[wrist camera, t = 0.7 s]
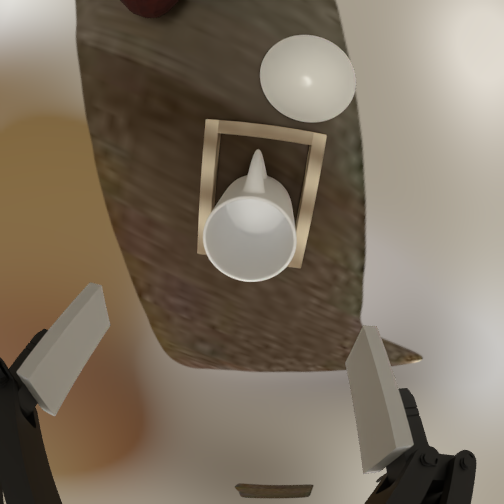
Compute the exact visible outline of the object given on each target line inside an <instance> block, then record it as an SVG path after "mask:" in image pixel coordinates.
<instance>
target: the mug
mask: <svg viewBox="0 0 504 504" xmlns="http://www.w3.org/2000/svg"><path fill="white" fill-rule="evenodd" d="M203 244H204V248H205V251H206V254H207V256H208V258H209V259H210V261H211V262H212V263H213V265H214V266H215V267H216V268H217V269H218V270H220V271H221V272H222V273H224V274H225V275H227V276H229V277H231V278H234V279H237V280H240V281H246V282H256V281H263V280H266V279H269V278H272V277H274V276H276V275H277V274H279V273H280V272H281V271H283V270H284V269H285V268H286V267H287V266H288V264H289V263H290V262H291V260H292V258H293V256H294V253H295V250H296V245H297V236H296V228H295V222H294V215H293V209H292V203H291V199H290V196H289V194H288V192H287V190H286V189H285V188H284V186H283V185H282V184H281V183H280V182H278V181H277V180H275V179H274V178H272V177H269V176H267V173H266V168H265V164H264V159H263V156H262V153H261V151H260V150H259V149H257V150H256V151H255V153H254V155H253V158H252V161H251V164H250V168H249V171H248V175H246V176H243V177H240V178H238V179H237V180H235V181H234V182H233V183H232V184H231V185H230V186H229V187H228V188H227V189H226V191H225V192H224V194H223V195H222V197H221V198H220V200H219V201H218V203H217V204H216V206H215V207H214V209H213V210H212V212H211V213H210V215H209V217H208V218H207V220H206V223H205V226H204V230H203Z"/></svg>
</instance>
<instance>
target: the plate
mask: <svg viewBox="0 0 504 504" xmlns="http://www.w3.org/2000/svg"><path fill="white" fill-rule="evenodd" d="M260 82H261V86H262V89H263V92H264V94H265V96H266V98H267V99H268V101H269V102H270V103H271V105H272V106H273V107H274V108H275V109H277V110H278V111H279V112H280V113H282V114H283V115H285V116H287V117H289V118H291V119H294V120H297V121H302V122H322V121H326V120H329V119H331V118H334V117H335V116H337V115H339V114H340V113H341V112H343V111H344V110H345V109H346V108H347V106H348V105H349V104H350V102H351V100H352V98H353V96H354V93H355V89H356V75H355V71H354V68H353V65H352V63H351V61H350V60H349V58H348V57H347V55H346V54H345V53H344V52H343V51H342V50H341V49H340V48H339V47H338V46H337V45H335V44H334V43H332V42H330V41H328V40H326V39H324V38H321V37H317V36H313V35H296V36H291V37H288V38H286V39H283V40H281V41H279V42H278V43H277V44H275V45H274V46H273V47H272V48H271V49H270V50H269V51H268V52H267V54H266V55H265V57H264V59H263V62H262V64H261V69H260Z"/></svg>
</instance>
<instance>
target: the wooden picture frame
mask: <svg viewBox="0 0 504 504" xmlns="http://www.w3.org/2000/svg"><path fill="white" fill-rule="evenodd" d="M221 133H223V134H234V135H244V136H252V137H261V138H268V139H275V140H282V141H289V142H295V143H301V144H307V145H309V151H308V157H307V163H306V169H305V175H304V181H303V187H302V192H301V198H300V203H299V209H298V214H297V220H296V225H295V228H296V236H297V245H296V250H295V253H294V256H293V258H292V260H291V262H290V263H289V264H288V266H287V267H294V268H301V265H302V260H303V256H304V251H305V247H306V242H307V238H308V233H309V228H310V223H311V219H312V214H313V209H314V204H315V199H316V193H317V188H318V183H319V178H320V172H321V167H322V161H323V155H324V149H325V144H326V138H327V135H325V134H322V133H316V132H311V131H305V130H299V129H293V128H287V127H280V126H273V125H266V124H258V123H249V122H239V121H229V120H216V119H206V123H205V134H204V145H203V158H202V171H201V186H200V203H199V223H198V250H197V254H204V255H207V254H206V251H205V248H204V244H203V230H204V226H205V223H206V220H207V218H208V217H209V215H210V213H211V212H212V210H213V209H214V206H215V193H216V181H217V169H218V158H219V147H220V137H221Z"/></svg>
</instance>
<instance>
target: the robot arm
mask: <svg viewBox="0 0 504 504" xmlns="http://www.w3.org/2000/svg"><path fill="white" fill-rule="evenodd" d="M109 327H110V322H109V318H108V313H107V309H106V305H105V300H104V295H103V290H102V286H101V285H98V284H94V283H89V284H88V285H87V286H86V287H85V288H84V290H83V291H82V292H81V293H80V294H79V295H78V296H77V297H76V298H75V300H74V301H73V302H72V303H71V304H70V305H69V307H68V308H67V309H66V310H65V311H64V312H63V313H62V315H61V316H60V317H59V318H58V319H57V321H56V322H55V323H54V324H53V325H52V326H51V328H50V329H49V330H46V329H43V330H42V331H40V332H38V333H37V334H36V335H35V336H34V337H33V339H32V340H31V341H30V343H28V345H27V346H26V348H25V349H24V350H23V351H22V352H21V354H20V355H19V356H18V357H17V359H16V360H15V362H14V363H13V364H12V365H11V367H10V368H9V369H8V367H7V366H6V364H5V363H4V361H3V360H2V359H1V358H0V504H4V503H3V493H4V497H5V500H6V504H62V502H61V499H60V496H59V494H58V491H57V488H56V485H55V482H54V479H53V476H52V473H51V470H50V466H49V463H48V459H47V455H46V451H45V448H44V444H43V439H42V435H41V430H40V425H39V419H38V413H37V410H36V408H35V406H36V405H37V403H38V404H39V406H40V407H41V408H42V410H44V411H46V412H47V413H49V414H51V415H53V416H55V415H56V414H57V412H58V410H59V408H60V406H61V405H62V403H63V401H64V399H65V397H66V396H67V394H68V392H69V391H70V389H71V387H72V385H73V384H74V382H75V380H76V378H77V377H78V375H79V374H80V372H81V370H82V369H83V367H84V366H85V364H86V362H87V361H88V359H89V357H90V356H91V354H92V353H93V351H94V350H95V348H96V347H97V345H98V343H99V342H100V340H101V339H102V337H103V335H104V334H105V333H106V331H107V330H108V328H109ZM346 368H347V373H348V378H349V384H350V389H351V394H352V400H353V406H354V412H355V418H356V424H357V431H358V438H359V444H360V451H361V459H362V468H363V474H366V473H375V472H380V471H381V470H383V469H384V468H385V467H386V469H387V473H386V474H384V475H383V476H381V477H380V478H379V479H378V480H377V481H376V482H379V481H380V483H379V484H378V486H377V487H376V488H375V490H374V492H373V493H372V494H371V495H370V497H369V498H368V500H367V501H366V502H365V504H471V499H472V493H473V486H474V480H475V472H476V458H475V456H474V454H473V453H472V452H470V451H468V450H463V451H460V452H459V453H457V454H456V455H455V456H454V455H444V454H439V453H438V451H437V450H436V449H435V448H433V447H430V446H429V445H428V442H427V439H426V435H425V432H424V428H423V425H422V421H421V418H420V416H419V411H418V409H417V405H416V402H415V399H414V397H413V395H412V394H411V393H410V391H409V390H408V389H407V388H402V389H398V386H397V383H396V380H395V377H394V374H393V371H392V368H391V365H390V362H389V359H388V356H387V353H386V350H385V348H384V345H383V342H382V339H381V337H380V334H379V331H378V328H377V326H363V327H362V329H361V331H360V333H359V336H358V338H357V340H356V342H355V344H354V346H353V348H352V350H351V353H350V355H349V357H348V359H347V361H346Z"/></svg>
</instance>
